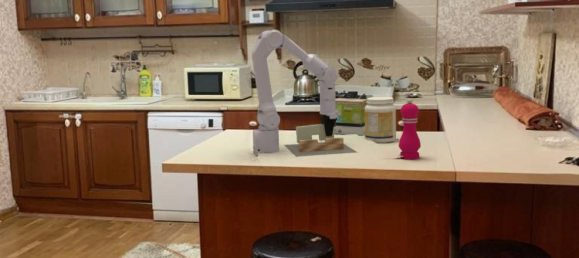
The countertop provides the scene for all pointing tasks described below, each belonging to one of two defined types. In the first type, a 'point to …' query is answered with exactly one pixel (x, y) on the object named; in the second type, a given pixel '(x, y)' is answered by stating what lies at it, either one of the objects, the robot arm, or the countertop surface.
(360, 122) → the tea box
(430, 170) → the countertop surface
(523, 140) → the countertop surface
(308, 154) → the board
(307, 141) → the oak slotted plate
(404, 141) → the pepper mill
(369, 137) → the supplement tub
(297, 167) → the countertop surface
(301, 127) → the sage notched plate
